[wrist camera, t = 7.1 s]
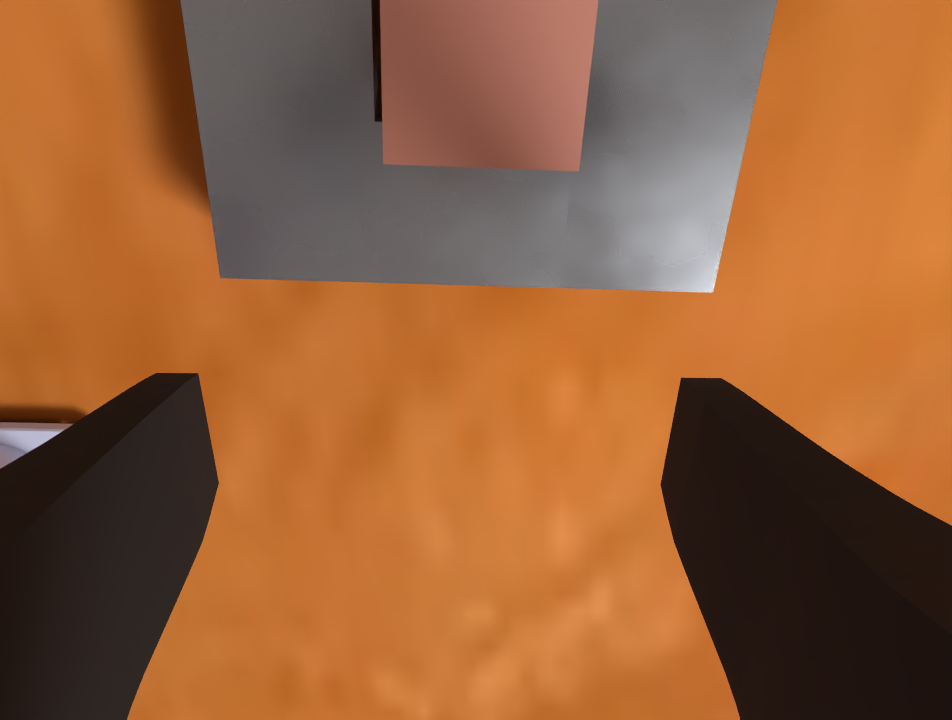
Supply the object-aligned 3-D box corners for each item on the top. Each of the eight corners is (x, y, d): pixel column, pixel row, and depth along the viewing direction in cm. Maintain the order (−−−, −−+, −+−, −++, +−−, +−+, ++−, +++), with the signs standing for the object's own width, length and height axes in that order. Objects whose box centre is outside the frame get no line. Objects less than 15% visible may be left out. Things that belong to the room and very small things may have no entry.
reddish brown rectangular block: (408, 86, 18) (383, 164, 12) (408, -65, 16) (378, -64, 10) (539, 91, 18) (578, 171, 12) (551, -57, 17) (604, -52, 10)
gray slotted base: (246, 240, 20) (220, 277, 18) (173, -362, 14) (120, -417, 12) (685, 254, 20) (712, 292, 18) (798, -325, 14) (858, -370, 12)
